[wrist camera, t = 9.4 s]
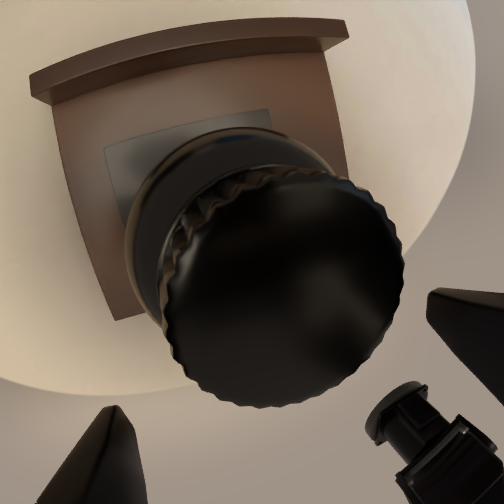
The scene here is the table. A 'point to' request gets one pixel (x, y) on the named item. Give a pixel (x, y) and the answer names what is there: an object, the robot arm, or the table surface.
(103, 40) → the table surface
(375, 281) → the supplement bottle
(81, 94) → the shelf
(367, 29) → the table surface
